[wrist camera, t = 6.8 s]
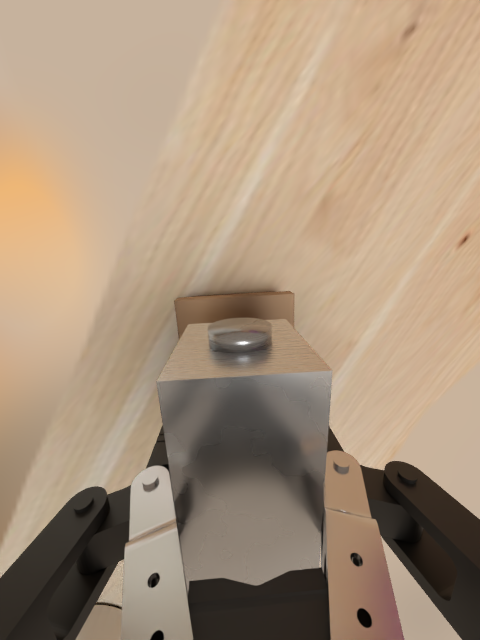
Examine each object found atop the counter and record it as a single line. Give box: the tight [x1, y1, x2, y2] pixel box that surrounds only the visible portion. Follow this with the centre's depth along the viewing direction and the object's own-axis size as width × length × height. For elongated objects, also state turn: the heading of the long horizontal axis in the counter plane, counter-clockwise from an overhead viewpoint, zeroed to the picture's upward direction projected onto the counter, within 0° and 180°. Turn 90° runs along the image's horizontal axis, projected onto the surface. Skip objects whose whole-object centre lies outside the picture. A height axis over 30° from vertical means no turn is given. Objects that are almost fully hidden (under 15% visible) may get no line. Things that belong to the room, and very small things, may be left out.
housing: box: [156, 318, 332, 589], centre depth 11 cm, size 11×5×6 cm, turn 2°
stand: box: [174, 291, 294, 340], centre depth 19 cm, size 8×11×4 cm
